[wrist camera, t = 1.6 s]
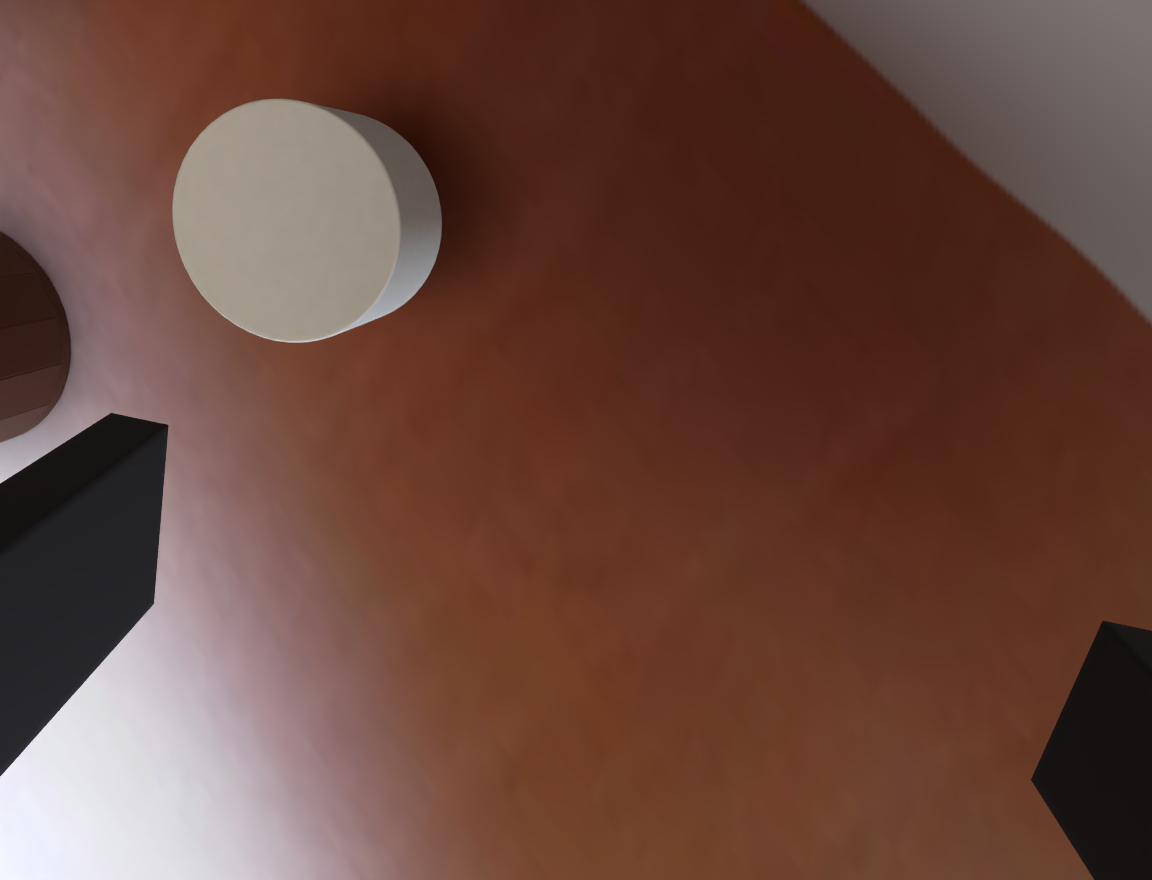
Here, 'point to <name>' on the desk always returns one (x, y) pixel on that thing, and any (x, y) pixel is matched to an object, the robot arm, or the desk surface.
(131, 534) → the robot arm
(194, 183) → the stopper
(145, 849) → the desk surface
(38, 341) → the bottle
